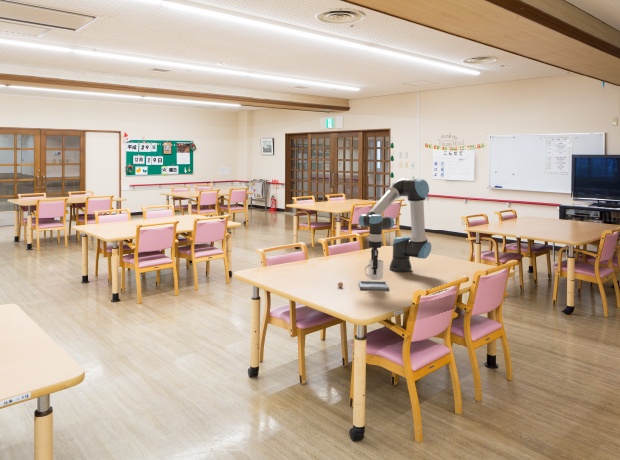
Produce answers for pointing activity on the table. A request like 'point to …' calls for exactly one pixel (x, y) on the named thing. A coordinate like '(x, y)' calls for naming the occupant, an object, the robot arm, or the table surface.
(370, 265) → the mug
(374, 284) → the tray
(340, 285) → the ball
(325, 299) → the table surface
